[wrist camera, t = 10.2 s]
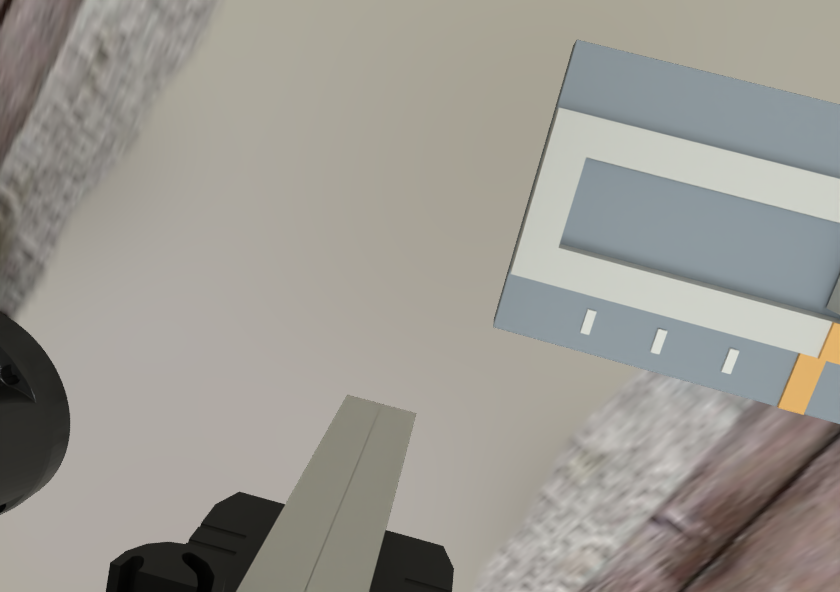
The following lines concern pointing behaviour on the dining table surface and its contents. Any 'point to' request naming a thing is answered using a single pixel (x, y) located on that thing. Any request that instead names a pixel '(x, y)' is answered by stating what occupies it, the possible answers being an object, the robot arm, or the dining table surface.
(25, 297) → the dining table surface
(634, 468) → the dining table surface
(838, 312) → the fader tab
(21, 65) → the dining table surface
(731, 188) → the console
